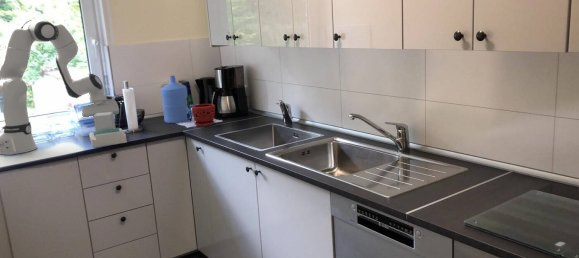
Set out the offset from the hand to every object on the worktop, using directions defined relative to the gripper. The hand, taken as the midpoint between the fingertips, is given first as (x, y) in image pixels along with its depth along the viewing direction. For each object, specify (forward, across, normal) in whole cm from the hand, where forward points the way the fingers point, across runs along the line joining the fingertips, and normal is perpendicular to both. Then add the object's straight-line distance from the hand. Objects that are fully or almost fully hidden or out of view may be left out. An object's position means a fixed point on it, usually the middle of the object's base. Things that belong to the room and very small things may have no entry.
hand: (102, 121), depth 298 cm
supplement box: (+17, 0, -5) cm, 18 cm away
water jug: (-2, +44, +13) cm, 46 cm away
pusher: (+22, 0, -10) cm, 24 cm away
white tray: (+18, 0, -6) cm, 19 cm away
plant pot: (+15, +55, -4) cm, 58 cm away
